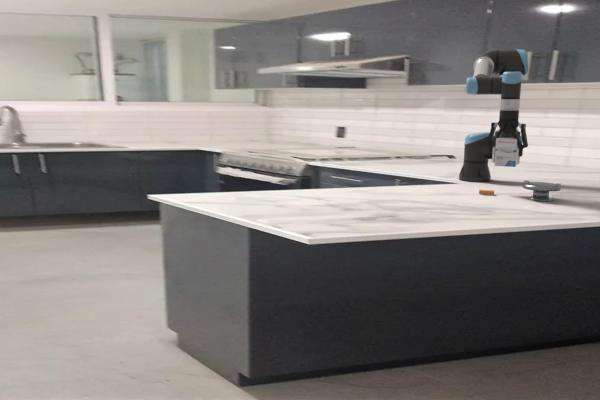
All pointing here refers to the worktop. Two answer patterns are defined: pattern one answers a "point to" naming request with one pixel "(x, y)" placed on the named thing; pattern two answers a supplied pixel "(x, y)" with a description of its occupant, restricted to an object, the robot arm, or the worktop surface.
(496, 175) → the worktop surface
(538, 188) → the rosette stub
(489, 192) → the wedge pin
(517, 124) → the robot arm
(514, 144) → the ink box
